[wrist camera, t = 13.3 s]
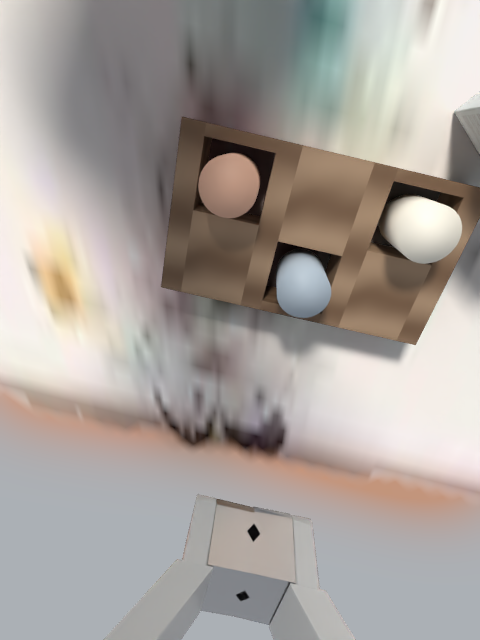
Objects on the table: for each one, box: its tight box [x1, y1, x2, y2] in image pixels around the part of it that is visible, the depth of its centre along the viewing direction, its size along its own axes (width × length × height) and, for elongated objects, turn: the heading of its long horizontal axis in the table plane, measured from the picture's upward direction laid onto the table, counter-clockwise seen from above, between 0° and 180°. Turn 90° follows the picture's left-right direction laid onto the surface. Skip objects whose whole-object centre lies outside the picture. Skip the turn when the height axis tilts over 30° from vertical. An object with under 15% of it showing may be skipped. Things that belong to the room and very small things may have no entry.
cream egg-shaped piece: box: [379, 194, 462, 264], centre depth 31 cm, size 5×5×6 cm
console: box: [161, 117, 480, 345], centre depth 35 cm, size 15×26×4 cm, turn 78°
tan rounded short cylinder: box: [198, 152, 261, 218], centre depth 30 cm, size 5×5×6 cm
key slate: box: [276, 249, 331, 318], centre depth 34 cm, size 5×5×6 cm
